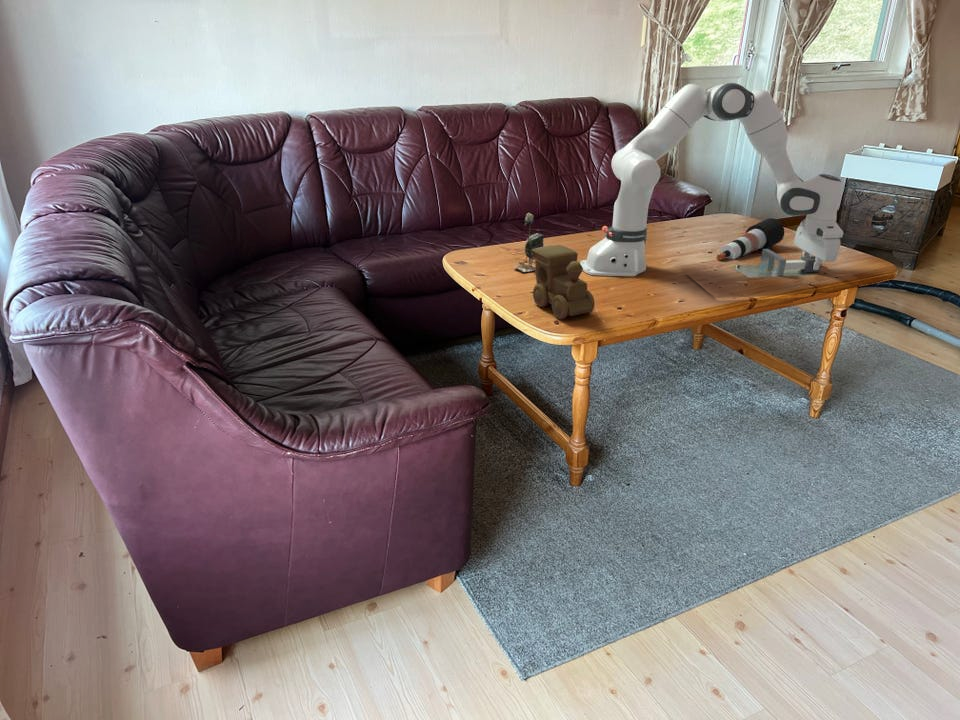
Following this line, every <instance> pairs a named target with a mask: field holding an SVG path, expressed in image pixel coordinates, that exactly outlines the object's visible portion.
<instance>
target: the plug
mask: <svg viewBox="0 0 960 720" xmlns="http://www.w3.org/2000/svg"><path fill="white" fill-rule="evenodd" d="M800 257H801V258H800V259H795V260H794V259H793V260H789V259H788V260H786V264H785V269H784V270H795V269H801V270H803V271H804V272H808V273H814V272H815V273H817V272H820V271H821V266H822V263H821V264H820V266H819V269H818V270H814V269H812V268H811V267H812V264H814V263H815V261H816V260H815V256H813V255H811V256H809V257H803V256H800Z"/></svg>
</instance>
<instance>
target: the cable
mask: <svg viewBox="0 0 960 720" xmlns="http://www.w3.org/2000/svg"><path fill="white" fill-rule="evenodd" d="M784 237H785V227H784V225H783V224H782V222H781V221H780V220H779V219H776V218H774V217H773V218H771V217H769V218H767V219H764V220H762V221H759V222H758V223H755V224H753V225H752V226H749V227H748V228H747V230H745V233H744V234H741V235H740V236H738V237H737V238H735V239H733V240H732V241H730V242H729V243H727V244H725V245H723V246H722V247H721V248H720V253H719V254H717V255H716V260H717V261H723V260H724V259H729V260H735V259H738V258H741V257H743V256H746V255H749V254H751V253H752V252H757V251H758V253H759V252H760V253H762V250H763V249H770V248H771V247H773V246H775V245H777V244H779V243H780V242H781V241H782V240H784Z"/></svg>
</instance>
